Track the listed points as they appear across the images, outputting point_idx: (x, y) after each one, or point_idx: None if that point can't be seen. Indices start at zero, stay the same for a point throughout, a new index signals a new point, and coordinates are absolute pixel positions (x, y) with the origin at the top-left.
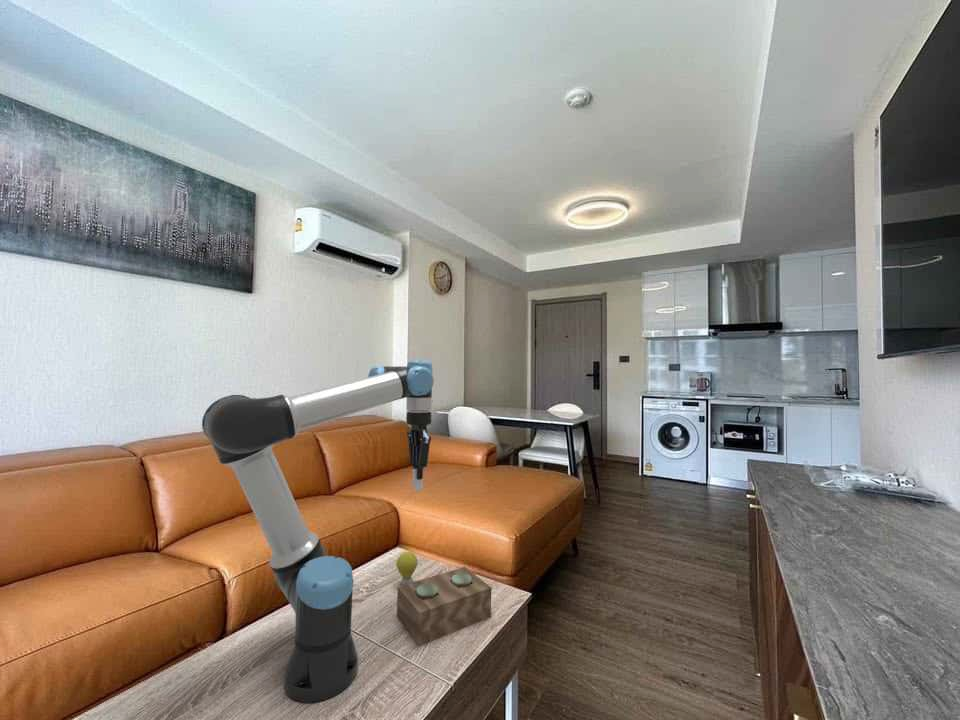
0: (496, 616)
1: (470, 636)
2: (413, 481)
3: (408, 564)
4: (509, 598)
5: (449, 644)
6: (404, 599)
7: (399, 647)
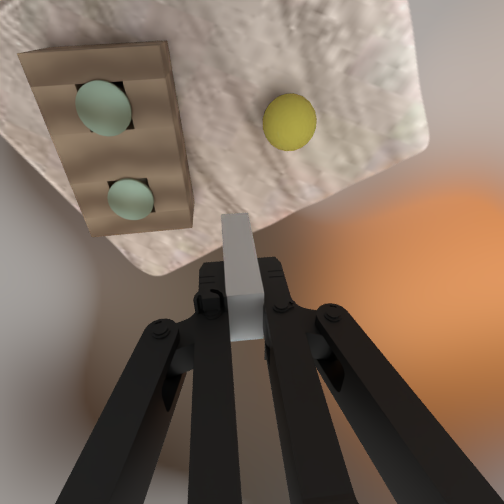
0: None
1: None
2: (240, 237)
3: (266, 119)
4: (148, 256)
5: None
6: (113, 47)
7: (53, 2)
